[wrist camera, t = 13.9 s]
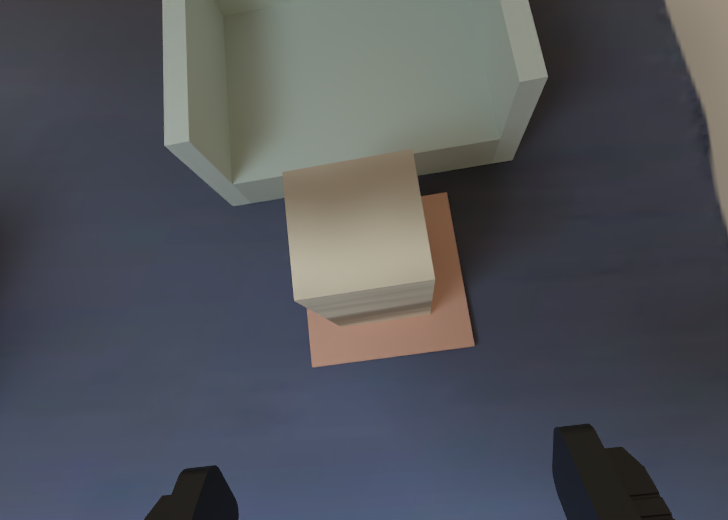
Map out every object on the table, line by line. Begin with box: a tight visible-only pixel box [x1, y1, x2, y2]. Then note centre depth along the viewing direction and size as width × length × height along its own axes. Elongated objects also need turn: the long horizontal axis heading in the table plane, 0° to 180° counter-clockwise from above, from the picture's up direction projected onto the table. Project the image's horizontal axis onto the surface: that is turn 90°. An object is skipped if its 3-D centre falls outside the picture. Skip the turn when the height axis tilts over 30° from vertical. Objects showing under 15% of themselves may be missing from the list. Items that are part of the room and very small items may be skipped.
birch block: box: [282, 149, 435, 327], centre depth 21 cm, size 5×5×10 cm
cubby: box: [162, 0, 548, 206], centre depth 23 cm, size 13×17×14 cm
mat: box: [307, 192, 475, 367], centre depth 26 cm, size 9×9×1 cm
